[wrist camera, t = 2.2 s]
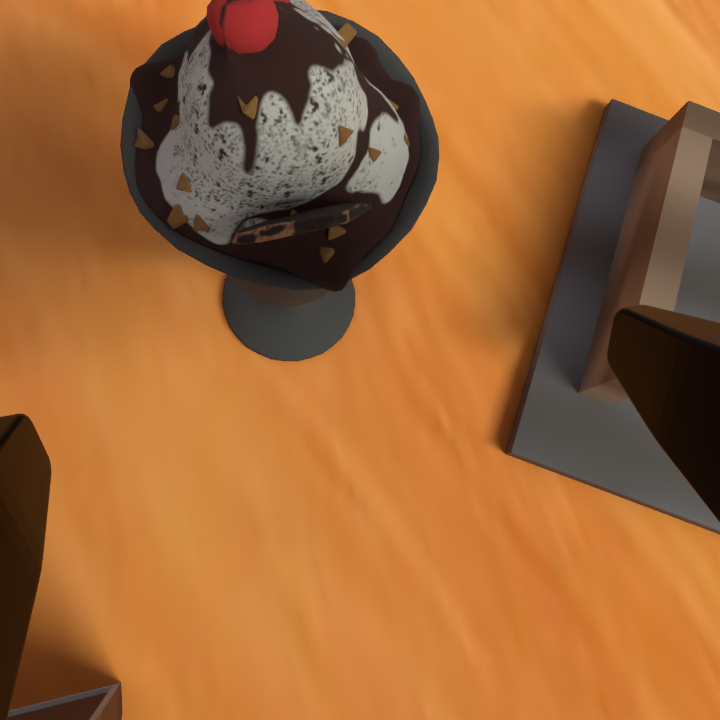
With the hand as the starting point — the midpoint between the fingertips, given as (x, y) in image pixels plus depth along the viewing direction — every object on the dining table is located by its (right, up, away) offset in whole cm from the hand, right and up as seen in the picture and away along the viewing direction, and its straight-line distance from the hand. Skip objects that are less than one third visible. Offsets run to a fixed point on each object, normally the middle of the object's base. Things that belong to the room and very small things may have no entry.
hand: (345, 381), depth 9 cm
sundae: (-2, +3, +13) cm, 14 cm away
